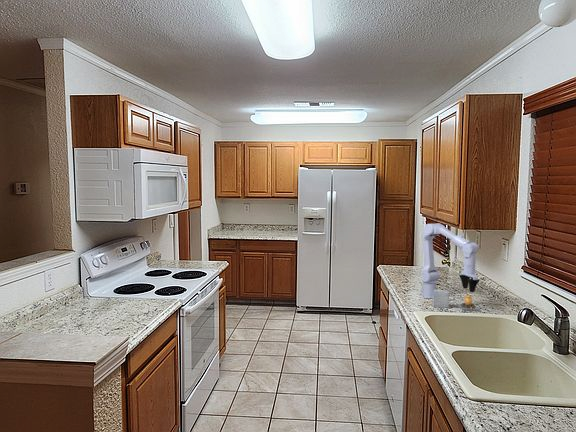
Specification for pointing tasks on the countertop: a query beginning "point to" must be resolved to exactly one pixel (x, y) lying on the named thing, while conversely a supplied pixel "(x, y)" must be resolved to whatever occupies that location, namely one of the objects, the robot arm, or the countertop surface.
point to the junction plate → (468, 307)
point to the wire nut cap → (468, 300)
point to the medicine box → (440, 298)
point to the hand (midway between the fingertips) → (468, 290)
